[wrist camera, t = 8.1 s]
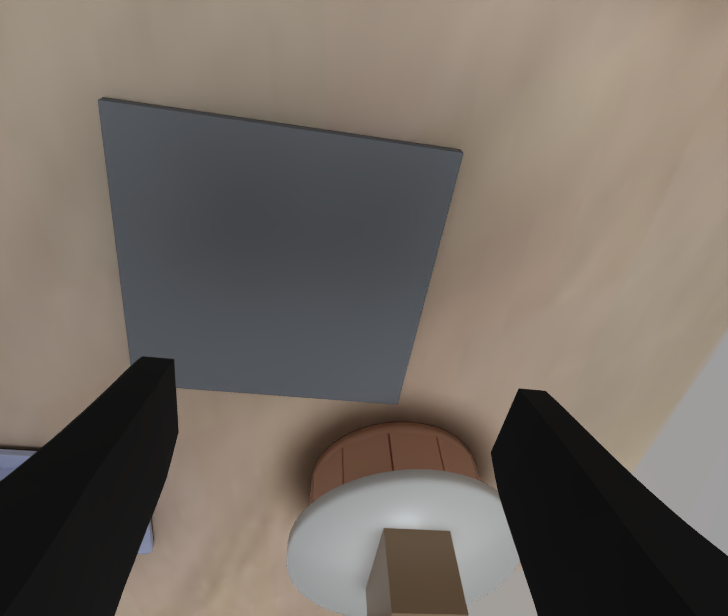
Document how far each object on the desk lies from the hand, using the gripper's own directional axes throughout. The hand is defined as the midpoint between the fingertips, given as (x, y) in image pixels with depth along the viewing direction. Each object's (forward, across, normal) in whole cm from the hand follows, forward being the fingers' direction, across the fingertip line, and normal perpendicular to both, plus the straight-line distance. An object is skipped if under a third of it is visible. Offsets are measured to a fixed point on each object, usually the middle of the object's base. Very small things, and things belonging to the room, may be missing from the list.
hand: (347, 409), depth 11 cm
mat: (+10, +2, +3) cm, 11 cm away
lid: (+6, -5, +14) cm, 16 cm away
